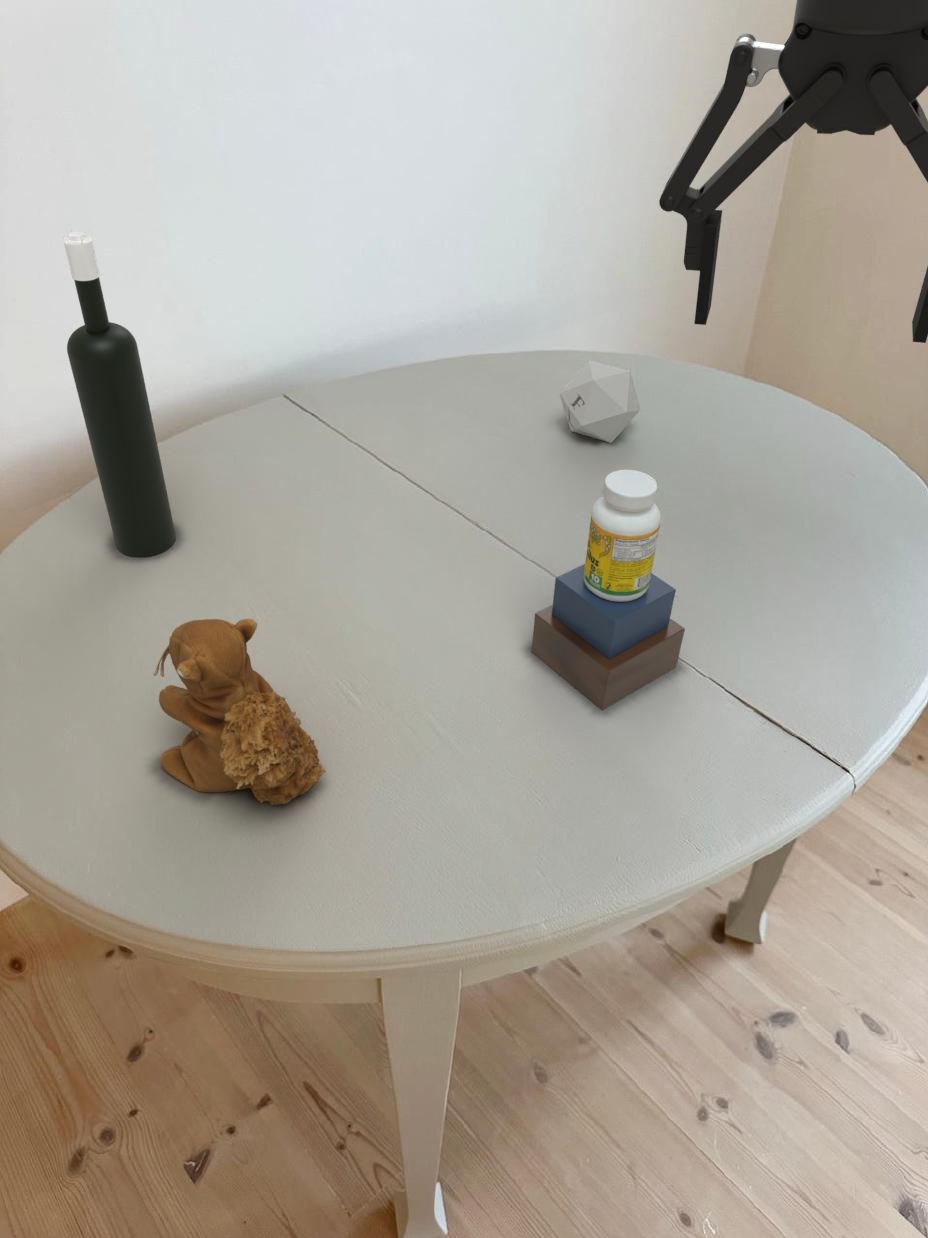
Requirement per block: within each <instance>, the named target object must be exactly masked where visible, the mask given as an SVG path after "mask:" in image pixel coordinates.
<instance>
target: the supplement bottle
mask: <svg viewBox="0 0 928 1238" xmlns="http://www.w3.org/2000/svg"><path fill="white" fill-rule="evenodd" d="M657 494H658V483H657V480H656V479H655V478H654V477H652V476H651V475H650V474H648V473H646V472H643V471H640V470H635V469H617V470H614V471H611V472H610V473H608V474H607V475H606V476H605V479H604V482H603V489H602V496H601V497H599V498H598V499H597V500H596V502H594V504H593V506H592V509H591V510H592V511H591V514H590V521H589V522H590V523H589V530H588V539H587V549H586V554H585V562H584V564H585V569H584V581H585V584H586V586H587V588H588V589H589V590H590V591H592V592H593V593H594V594H596V595H597V596H599V597H601V598H603V599H606V600H609V601H615V602H626V601H632V600H635V599H637V598H639V597H641V596H642V595H643V594H644V593H645V592H646V591H647V589H648V587H649V583H650V578H651V573H652V572H653V566H654V560H655V555H656V549H657V546H658V545H657V544H658V539H659V533H660V529H661V522H662V514H661V511H660V509H659V507H658V506H657V504H656V501H657ZM652 574H653V573H652Z"/></svg>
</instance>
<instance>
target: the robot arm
mask: <svg viewBox="0 0 928 1238" xmlns="http://www.w3.org/2000/svg"><path fill="white" fill-rule="evenodd" d="M729 55H730V56H729V59H728V60H729V61H728V65H727V69H726V74H725V79H724V82H723V84H722V86H721V88H720V89H719V91H718V93H717V95H716V96H715V98H714V100H713V102H712V104H711V105H710V107H709V109H708V110H707V112H706V114H705V116H704V117H703V119H702V121H701V123H700V124H699V126H698V127H697V129H696V131H695V132H694V134H693V137H692V138H691V140H690V142H689V143H688V145H687V146H686V149H685V150H684V152H683V154H682V155H681V157H680V159H679V160H678V162H677V164H676V166H675V168H674V169H673V170H672V173H671V174H670V175H669V178H668V180H667V182H666V183H665V186H664V188H663V191H662V193H661V195H660V198H659V200H658V202H659V203H658V204H659V207H660V209H661V210H663V211H664V212H667V213H668V212H669V213H671V212H675V213H677V214H679V215H681V216H682V217H683V218H684V219H685V221H686V232H685V243H684V253H683V265H684V268H685V271H695V272H696V271H697V272H699V278H698V286H697V296H696V304H695V313H694V314H695V315H694V325H701V326H706V325H707V321H708V318H709V314H710V311H711V307H712V301H713V299H712V298H713V291H714V283H715V276H716V267H717V258H718V251H719V250H718V249H719V241H720V234H721V224H722V217H723V210H722V209H718V207H720V206H721V205H722V204H723V203H724V202H725V201H726V200H727V199H728V198H729V197H730V196H731V195H732V194H733V193H734V192H735V191H736V190H737V189H738V188H739V187H740V186H741V185H742V184H743V183H744V182H745V181H746V180H747V179H748V178H749V177H750V176H751V175H752V174H753V173H754V172H755V171H756V170H757V169H758V168H759V167H760V166H761V165H762V164H763V163H764V162H765V161H766V160H767V159H768V158H769V157H770V156H771V155H772V154H773V153H774V152H775V151H776V150H778V148H779V147H780V146H781V145H782V144H783V143H785V142H787V141H788V140H790V138H791V137H793V136H794V135H795V134H796V133H797V132H798V130H800V129H801V128H802V127H803V126H804V125H807V126H808V127H809V128H811V129H812V130H816V134H819V135H821V134H822V135H832V134H836V133H841V132H845V131H846V132H850V133H853V134H856V135H859V136H875V135H876V133H877V132H880V131H882V130H885V129H887V128H888V127H889V126H891V127H892V128H893V131H894V132H895V134H896V135H897V137H898V139H899V140H900V142H901V144H902V145H903V146H904V147H906V149H907V151H908V153H909V154H910V156H911V157H912V159H913V161H914V162H915V164H916V165H917V168H918V169H919V170H920V172H921V174H922V176H923V178H924V179H925V181H926V182H927V183H928V118H927V117H926V114H925V112H924V109H923V107H922V106H921V104H920V103H919V100H918V97H919V96H920V95H921V94H922V93H923V92H924V91H925V90H926V89H927V88H928V0H796V4H795V9H794V17H793V23H792V29H791V33H790V34H789V37H788V38H787V40H786V42H785V43H784V44H779V43H771V42H765V41H757V40H756V37H755V36H754V35H753V34H751V33H742V34H741V35H739V36H738V38H737V39H736V41H735V43H734V44H733V48H732V51H731V53H730V54H729ZM771 70H777V71H778V74H779V77H780V78H781V80H782V82H783V84H784V86H785V88H786V90H787V92H788V93H789V94H788V95H787V96H786V98H784V99H783V100H782V102H781V103H779V104H778V106H777V107H776V108H775V109H774V111H773V112H772V114H771V115H769V116H768V117H767V119H765V121H763V123H762V124H761V125H760V126H759V127H758V128H757V129H756V130H755V131H754V132H753V133H752V134H751V135H750V136H749V138H748V139H746V140H745V141H744V143H742V144H741V146H739V147H738V148H737V149H736V150H735V152H734V153H733V154H732V155H731V156H730V157H729V158H728V159H727V160H726V161H725V162H724V163H723V164H722V165H721V166H720V167H718V169H717V170H716V171H715V172H714V173H713V174H712V175H711V176H710V177H709V178H708V179H707V181H705V183H704V184H703V185H702V186H701V187H699V188H694V187H692V186H691V185H692V183H693V181H694V180H695V178H696V176H697V175H698V173H699V171H700V169H701V168H702V166H703V165H704V164H705V161H706V160H707V158H708V156H709V155H710V153H711V152H712V150H713V148H714V146H715V144H716V143H717V141H718V139H719V138H720V136H721V135H722V133H723V131H724V129H725V128H726V126H727V125H728V123H729V121H730V120H731V118H732V116H733V114H734V113H735V112H736V109H737V107H738V106H739V104H740V102H741V101H742V100H741V99H742V97H743V95H744V93H745V90H746V87H747V88H748V87H749V88H753V87H757V86H758V85H759V84H760V83H761V82H762V81H763V79H764V77H765V75H766V74H767V73H768V72H769V71H771ZM911 329H912V343H922V344H926V343H927V339H928V266H927V268H926V270H925V273H924V278H923V281H922V285H921V288H920V292H919V296H918V299H917V303H916V306H915V310H914V314H913V318H912V322H911Z"/></svg>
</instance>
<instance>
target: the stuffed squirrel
mask: <svg viewBox="0 0 928 1238" xmlns="http://www.w3.org/2000/svg"><path fill="white" fill-rule="evenodd" d="M257 628H258V622H257V621H256V619H254V618H243V619H240V620H238V621H237V622H236V623H235V624H233V623H231V622H230V621H227V620H225V619H219V618H209V619H208V618H206V619H194V620H190V621H186V622H184V623H182V624H180V625H179V626H177V627H176V628H175V629H174V630H173V631H172V633H171V636H170V637H169V642H168V645H167V646H166V648H165V649H164V651H163V653H162V654H161V656H160V658H159V660H158V663H157V665H156V668H155V670H154V672H153V676H154V677H156V676H157V675H158V673H159V672H160V677H162V678H164V677H165V661H166V659H167V657H168V655H169V656H170V660H171V663H172V665H173V667H174V669H175V672H176V673H177V676H178V677H179V679H180V681H181V682H182V683H183V685H184V686H185V688H184V687H180V686H177V685H173V684H169V685H167V686H165V688H164V689H161V691H159V695H158V703H159V706H160V708H161V709H162V711H163V713H165V714H166V715H167V716H169V717H171V718H172V719H174V720H176V721H177V722H180V723H182V724H183V725H184V726H187V727H188V728H189V729H191V731H190V732H189V733H188V734H187V735H186V736H185V738H184V739H183V741H182V743H181V745H176V746H173V747H169V748H168V749H166V750H164V751H163V753H162V754H161V756H160V758H159V764H160V766H161V767H162V768H163V770H164V771H166V773H167V774H169V775H170V776H171V777H173V778H174V779H176V780H178V781H179V782H181V783H183V784H184V785H186V786H187V787H189V788H191V789H192V790H195V791H197V792H200V793H224V792H232V791H233V792H234V791H238V790H245V789H250V791H252V792H251V794H253V797H255V798H256V800H257V801H259V803H260V804H262V803H264V802H269V804H270V805H271V806H276V805H286V804H288V803H290V802H291V800H293V799H294V798H297V796H299V795H303V794H305V793H307V792H309V791H310V790H311V789H312V787H313V786H314V785H315V784H317V783H318V782H319V780H320V778H321V777H322V776H323V775H324V773H326V772H327V771H326V769H323V764H321V763H320V759H319V756H318V755H319V751H318V748H317V746H316V745H315V739H312V737H311V735H309V734H308V733H307V731H305V729H303V728H302V727H301V724H302V720H301V719H300V718H298V717H297V716H296V714H297V711H292V710H291V707H290V706H289V704H288V703H287V701H286V699H287V697H285V696H281V695H279V694H277V692H276V691H274V689H273V687H272V686H271V684H270V683H269V682H268V681H266V679H265V677H263V676H262V675H261V674H260V673H259V672H258V671H257V670H254V669H253V667H252V662H251V657H250V655H249V653H248V648H247V647H248V646H247V643H248V642H249V641H250V640H251V639H252V638H253V636H254V634H255V633H256V630H257ZM159 670H160V671H159ZM295 716H296V717H295Z"/></svg>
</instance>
